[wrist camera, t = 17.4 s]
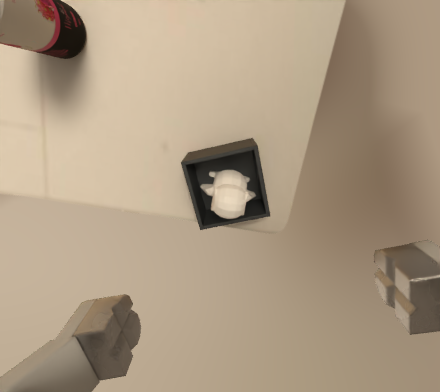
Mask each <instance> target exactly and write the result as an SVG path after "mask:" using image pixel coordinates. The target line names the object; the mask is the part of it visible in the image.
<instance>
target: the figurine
mask: <svg viewBox="0 0 440 392" xmlns="http://www.w3.org/2000/svg"><path fill="white" fill-rule="evenodd" d="M209 176H211V177H214V182H213V184H202V185H201V186H200V188H201V189H202V190H203V191H204V192H205V193H206V194H207V195H209V196H213V198H212V204H211V210H212V211H214V212H215V213H216V214H217V215H219V216H220V217H223V218H226V219H234V218H237V217H239V216H241V215H244V211H245V206H246V202H248V201H249V200H251V199H252V198H254V197H256V195H255V193H254V192H252V191H249V190H247V182H249V180H250V178H249V177H246V176H243V175H242V174H241V173H239V172H237V171H235V170H223V171H221V172H220V171H218V172H216V171H210V172H209Z"/></svg>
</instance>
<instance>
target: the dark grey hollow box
mask: <svg viewBox="0 0 440 392" xmlns="http://www.w3.org/2000/svg"><path fill="white" fill-rule="evenodd" d="M181 164H182V168H183V171H184V175H185V178H186V182H187V185H188V189H189V192H190V196H191V199H192V203H193V206H194V210H195V213H196V217H197V220H198V224H199V227H200V230H202V229H207V228H212V227H217V226H223V225H228V224H233V223H238V222H243V221H248V220H253V219H258V218H263V217H268V216H270V212H269V206H268V201H267V195H266V190H265V184H264V179H263V173H262V168H261V162H260V157H259V152H258V146H257V144H256V143H255V141H254V139H253V138H251V139H246V140H242V141H237V142H233V143H229V144H224V145H220V146H216V147H211V148H207V149H202V150H198V151H194V152H189V153H188V154H187V155H186V156H185V158H184V159H183V160H182V162H181ZM223 170H235V171H237V172H239V173H241V174H242V175H243V176H246V177H249V178H250V180H249V182H247V190H249V191H252V192H254V193H255V195H256V197H254V198H252V199H251V200H249V201H248V202H246V206H245V211H244V215H241V216H239V217H237V218H234V219H226V218H223V217H220V216H219V215H217V214H216V213H215V212H214V211H212V210H211V204H212V198H213V196H209V195H207V194H206V193H205V192H204V191H203V190H202V189H201V188H200V186H201V185H202V184H213V182H214V177H211V176H209V172H210V171H216V172H218V171H220V172H221V171H223Z"/></svg>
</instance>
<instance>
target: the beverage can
mask: <svg viewBox="0 0 440 392" xmlns="http://www.w3.org/2000/svg"><path fill="white" fill-rule="evenodd" d="M84 43H85V28H84V24H83V22H82V20H81V18H80V16H79V15H78V13H77V12H76V11H75V10H74V9H73V8H72V7H71V6H69V5H68V4H66V3H64V2H62V1H61V0H0V44H4V45H8V46H12V47H17V48H21V49H25V50H29V51H33V52H37V53H41V54H46V55H50V56H54V57H58V58H63V59H67V58H72V57H74V56H76V55H77V54H78V53H79V52H80V51H81V50H82V48H83V46H84Z"/></svg>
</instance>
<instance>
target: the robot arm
mask: <svg viewBox="0 0 440 392" xmlns="http://www.w3.org/2000/svg"><path fill="white" fill-rule="evenodd" d="M374 262H375V263H376V264H377V266H378V267H379V268H378V270H377V272H376V273H375V283H376V286H377V289H378V292H379V294H380V296H381V297H382V299H383V300H384V302H385V303H386V304H387V305H389V306H391V307H393V308H395V316H396V317H397V319H398V320H399V321H400V322H401V324H402V325H403V326H404V327H405V329H406V330H407V331H408V333H409V334H410V335H411V334H419V333H428V332H436V331H440V247H439V246H438V245H437V244H435V243H434V242H432V241H429V240H424V241H419V242H414V243H410V244H407V245H402V246H396V247H391V248H385V249H380V250H376V251H375V254H374ZM132 305H133V303H132V301H131V299H130V297H129V296H128V295H125V294H124V295H118V296H111V297H105V298H99V299H93V300H87V301H84V302H82V303H81V304H80V306H79V307H78V309H77V310H76V311H75V312H74V314H73V315H72V317H71V318H70V320H69V321H68V322H67V324H66V325H65V326H64V328H63V329H62V330H61V332H60V333H59V335H58V336H57V337H56V339H55V340H50V341H49V342H48V343H46V344H45V345H44V346H42V347H41V348H39V349H38V350H37V351H35V352H34V353H33V354H31V355H30V356H29V357H27V358H26V359H24V360H23V361H22V362H20V363H19V364H18V365H16V366H15V367H14V368H12V369H11V370H10V371H8V372H7V373H5V374H4V375H3V376H1V377H0V392H92V391H93V389H94V388H95V387H96V385H98V383H99V380H105V379H110V378H117V377H122V376H126V374H127V370H128V368H129V365H130V363H131V360H132V357H133V355H132V352H131V350H132V349H133V348H134V347H135V346H136V345H137V344H138V341H139V337H140V330H141V325H140V320H139V317H138V314H137V313H135V312H134V311H132V310H131V307H132Z"/></svg>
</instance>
